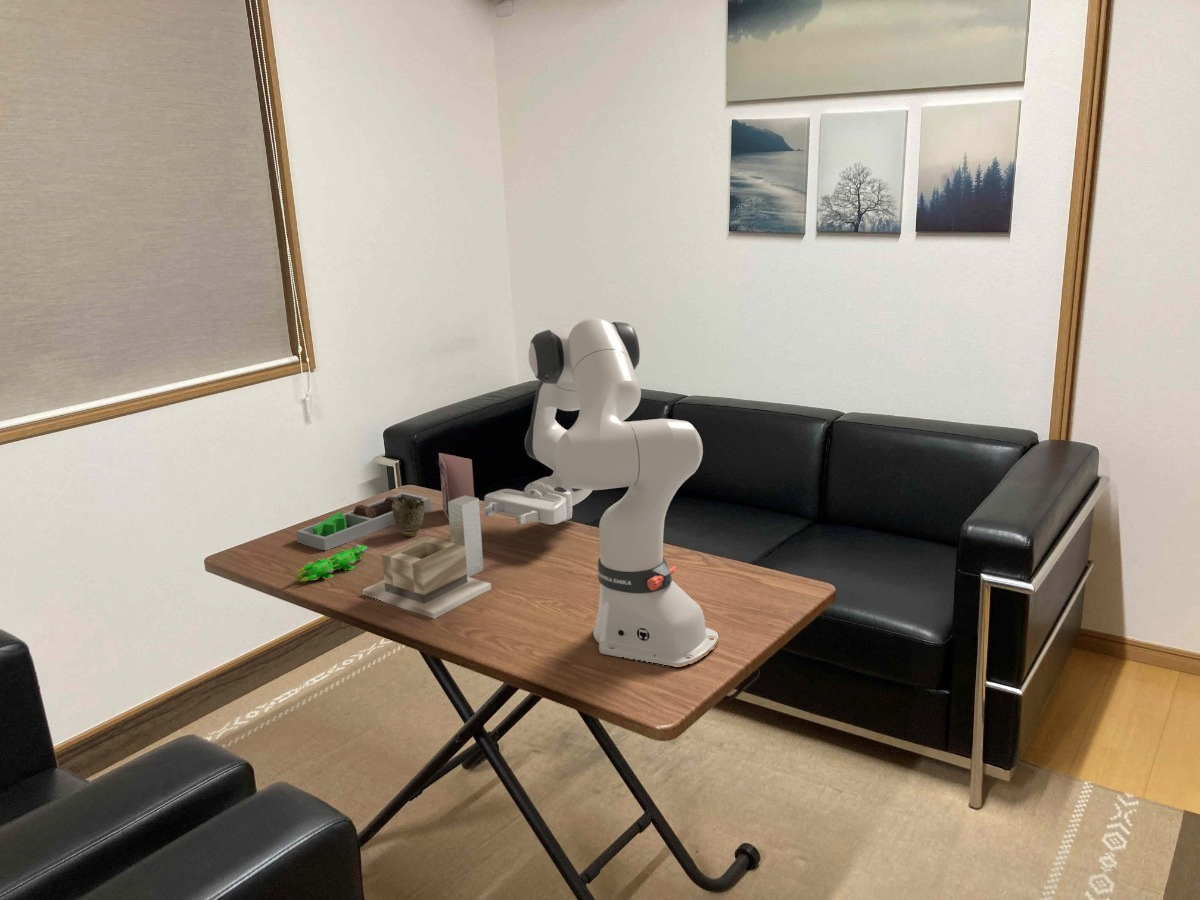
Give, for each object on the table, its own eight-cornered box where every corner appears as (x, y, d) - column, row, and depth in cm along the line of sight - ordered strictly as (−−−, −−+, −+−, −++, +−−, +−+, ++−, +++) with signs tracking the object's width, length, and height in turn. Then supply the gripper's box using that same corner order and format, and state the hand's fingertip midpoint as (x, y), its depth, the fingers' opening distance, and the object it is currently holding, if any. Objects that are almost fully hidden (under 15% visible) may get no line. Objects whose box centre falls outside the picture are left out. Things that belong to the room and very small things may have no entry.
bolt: (408, 516, 239) (363, 532, 227) (395, 504, 240) (350, 519, 228) (415, 499, 236) (370, 514, 224) (402, 486, 238) (357, 501, 226)
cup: (433, 532, 221) (430, 500, 219) (411, 542, 215) (408, 510, 213) (409, 527, 225) (407, 496, 223) (387, 537, 219) (384, 505, 217)
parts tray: (430, 509, 237) (430, 498, 236) (325, 551, 211) (324, 539, 211) (403, 503, 243) (402, 492, 242) (297, 543, 217) (296, 530, 216)
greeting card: (439, 510, 237) (435, 453, 232) (468, 506, 239) (464, 449, 235) (446, 524, 226) (442, 465, 222) (477, 520, 228) (473, 461, 224)
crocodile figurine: (376, 562, 205) (375, 543, 204) (307, 590, 191) (305, 570, 190) (357, 555, 209) (355, 537, 208) (288, 583, 195) (285, 564, 194)
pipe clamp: (329, 548, 214) (326, 529, 213) (314, 546, 215) (312, 528, 214) (353, 530, 224) (351, 512, 223) (339, 529, 225) (337, 511, 224)
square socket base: (491, 588, 189) (488, 547, 186) (434, 618, 176) (430, 574, 174) (421, 568, 200) (417, 528, 198) (363, 595, 188) (358, 553, 185)
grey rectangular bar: (483, 569, 198) (478, 498, 194) (467, 578, 195) (462, 505, 190) (469, 566, 201) (464, 495, 196) (453, 574, 197) (447, 501, 192)
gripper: (507, 479, 220) (466, 495, 209) (576, 492, 208) (537, 510, 197) (508, 504, 222) (468, 521, 211) (577, 519, 210) (538, 538, 199)
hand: (502, 516), depth 204 cm, fingers open, 8 cm apart
